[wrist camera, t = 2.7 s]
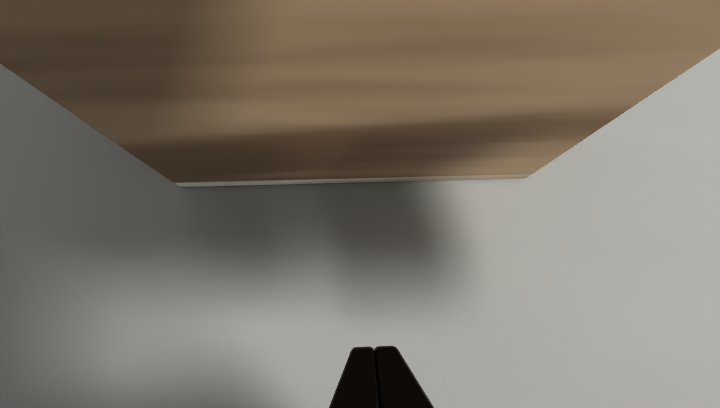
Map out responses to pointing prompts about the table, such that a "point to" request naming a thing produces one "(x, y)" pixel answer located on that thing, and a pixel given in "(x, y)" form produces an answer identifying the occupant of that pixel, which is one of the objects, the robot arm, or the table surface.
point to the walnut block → (351, 80)
